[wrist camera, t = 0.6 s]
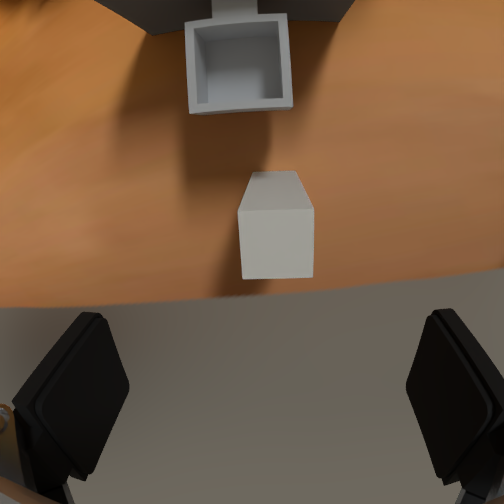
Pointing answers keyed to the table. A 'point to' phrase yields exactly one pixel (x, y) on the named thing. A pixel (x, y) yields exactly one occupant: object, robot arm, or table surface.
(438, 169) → the table surface
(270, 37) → the bracket
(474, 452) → the robot arm
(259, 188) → the rail
